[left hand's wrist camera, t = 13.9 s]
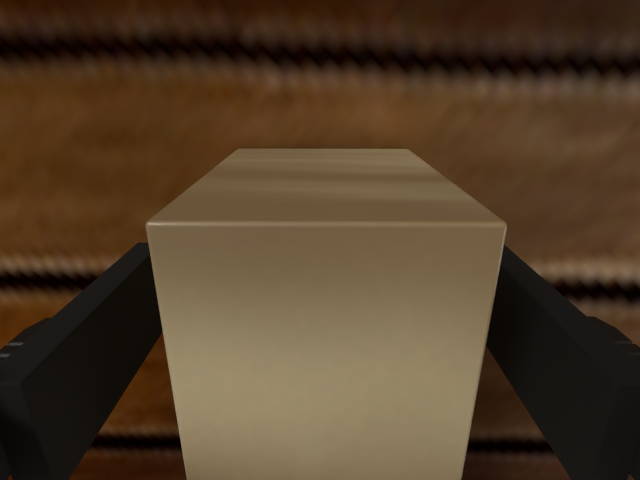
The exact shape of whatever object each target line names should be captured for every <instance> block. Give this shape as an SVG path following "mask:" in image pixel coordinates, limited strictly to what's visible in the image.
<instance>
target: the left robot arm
mask: <svg viewBox="0 0 640 480" xmlns="http://www.w3.org/2000/svg"><path fill="white" fill-rule="evenodd" d="M162 332H163V329H162V323H161V317H160V311H159V305H158V299H157V293H156V287H155V280H154V274H153V268H152V262H151V256H150V250H149V244H148V243H137V244H136V245H135V246H134V247H133V248H131V249H130V250H129V251H128V252H127V253H126V254H125V255H123V256H122V257H121V258H120V259H119V260H118V261H117V262H115V263H114V264H113V265H112V266H111V267H110V268H109V269H107V270H106V271H105V272H104V273H103V274H102V275H101V276H99V277H98V278H97V279H96V280H95V281H94V282H93V283H91V284H90V285H89V286H88V287H87V288H86V289H85V290H83V291H82V292H81V293H80V294H79V295H78V296H76V297H75V298H74V299H73V300H72V301H71V302H70V303H68V304H67V305H66V306H65V307H64V308H63V309H62V310H60V311H59V312H58V313H57V314H56V315H55V316H54V317H52V318H45V319H44V320H42V321H40V322H38V323H36V324H34V325H32V326H30V327H28V328H26V329H25V330H23V331H22V332H21V333H20V334H19V335H17V336H16V337H15V338H14V339H13V340H11V341H10V342H9V343H8V346H4V347H3V348H2V349H0V480H7V479H8V478H9V476H10V475H12V478H13V480H69V478H70V476H71V475H72V473H73V472H74V470H75V469H76V467H77V465H78V464H79V462H80V461H81V459H82V457H83V456H84V454H85V453H86V451H87V450H88V448H89V446H90V445H91V443H92V442H93V440H94V439H95V437H96V435H97V434H98V432H99V431H100V429H101V428H102V426H103V424H104V423H105V421H106V420H107V418H108V417H109V415H110V413H111V412H112V410H113V409H114V407H115V406H116V404H117V402H118V401H119V399H120V398H121V396H122V395H123V393H124V391H125V390H126V388H127V387H128V385H129V384H130V382H131V380H132V379H133V377H134V376H135V374H136V373H137V371H138V369H139V368H140V366H141V365H142V363H143V362H144V360H145V358H146V357H147V355H148V354H149V352H150V351H151V349H152V347H153V346H154V344H155V343H156V341H157V340H158V338H159V336H160V335H161V333H162ZM486 346H487V347H488V349H489V351H490V352H491V354H492V355H493V357H494V358H495V360H496V362H497V363H498V365H499V366H500V368H501V369H502V371H503V373H504V374H505V376H506V377H507V379H508V380H509V382H510V384H511V385H512V387H513V388H514V390H515V391H516V393H517V395H518V396H519V398H520V399H521V401H522V402H523V404H524V406H525V407H526V409H527V410H528V412H529V413H530V415H531V417H532V418H533V420H534V421H535V423H536V424H537V426H538V428H539V429H540V431H541V432H542V434H543V435H544V437H545V439H546V440H547V442H548V443H549V445H550V446H551V448H552V450H553V451H554V453H555V454H556V456H557V457H558V459H559V461H560V462H561V464H562V465H563V467H564V468H565V470H566V472H567V473H568V475H569V476H570V478H571V480H627V478H628V475H629V473H630V474H631V475H632V476H633V478H634V479H635V480H640V348H639V347H638V346H637V345H636V344H632V341H631V340H630V339H629V338H627V337H626V336H625V335H624V334H622V333H621V332H620V331H619V330H618V329H616V328H615V327H613V326H611V325H609V324H607V323H605V322H603V321H601V320H600V319H598V318H596V317H586V316H585V315H584V314H583V313H582V312H581V311H580V310H578V309H577V308H576V307H575V306H574V305H573V304H572V303H570V302H569V301H568V300H567V299H566V298H565V297H564V296H562V295H561V294H560V293H559V292H558V291H557V290H556V289H554V288H553V287H552V286H551V285H550V284H549V283H547V282H546V281H545V280H544V279H543V278H542V277H541V276H539V275H538V274H537V273H536V272H535V271H534V270H533V269H531V268H530V267H529V266H528V265H527V264H526V263H525V262H523V261H522V260H521V259H520V258H519V257H518V256H517V255H515V254H514V253H513V252H512V251H511V250H510V249H509V248H507V247H506V246H505V245H504V248H503V253H502V259H501V264H500V270H499V275H498V281H497V286H496V292H495V297H494V303H493V308H492V314H491V319H490V325H489V330H488V336H487V341H486Z"/></svg>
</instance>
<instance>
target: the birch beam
mask: <svg viewBox="0 0 640 480" xmlns="http://www.w3.org/2000/svg"><path fill="white" fill-rule="evenodd" d="M146 231H147V238H148V244H149V250H150V256H151V262H152V268H153V274H154V280H155V287H156V293H157V299H158V305H159V311H160V317H161V323H162V329H163V336H164V342H165V348H166V354H167V360H168V366H169V372H170V378H171V385H172V391H173V397H174V403H175V409H176V415H177V421H178V427H179V434H180V440H181V446H182V452H183V458H184V464H185V470H186V476H187V480H461V479H462V473H463V468H464V462H465V457H466V451H467V446H468V440H469V435H470V429H471V424H472V418H473V413H474V407H475V402H476V396H477V391H478V385H479V380H480V374H481V369H482V363H483V358H484V352H485V347H486V341H487V336H488V330H489V325H490V319H491V314H492V308H493V303H494V297H495V292H496V286H497V281H498V275H499V270H500V264H501V259H502V253H503V248H504V242H505V237H506V231H507V224H506V222H505V221H503V220H502V219H501V218H499V217H498V216H497V215H495V214H494V213H493V212H491V211H490V210H489V209H487V208H486V207H485V206H483V205H482V204H481V203H479V202H478V201H477V200H475V199H474V198H473V197H471V196H470V195H469V194H467V193H466V192H465V191H463V190H462V189H461V188H459V187H458V186H457V185H455V184H454V183H453V182H451V181H450V180H449V179H447V178H446V177H445V176H443V175H442V174H441V173H439V172H438V171H437V170H435V169H434V168H433V167H431V166H430V165H429V164H427V163H426V162H425V161H423V160H422V159H421V158H419V157H418V156H417V155H415V154H414V153H413V152H411V151H410V150H408V149H237V150H236V151H235V152H233V153H232V154H231V155H229V156H228V157H227V158H226V159H224V160H223V161H222V162H221V163H219V164H218V165H217V166H216V167H214V168H213V169H212V170H211V171H209V172H208V173H207V174H206V175H204V176H203V177H202V178H201V179H199V180H198V181H197V182H196V183H194V184H193V185H192V186H191V187H189V188H188V189H187V190H186V191H184V192H183V193H182V194H181V195H179V196H178V197H177V198H176V199H174V200H173V201H172V202H171V203H169V204H168V205H167V206H166V207H164V208H163V209H162V210H161V211H159V212H158V213H157V214H156V215H154V216H153V217H152V218H151V219H149V220H148V221H147V222H146Z"/></svg>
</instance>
